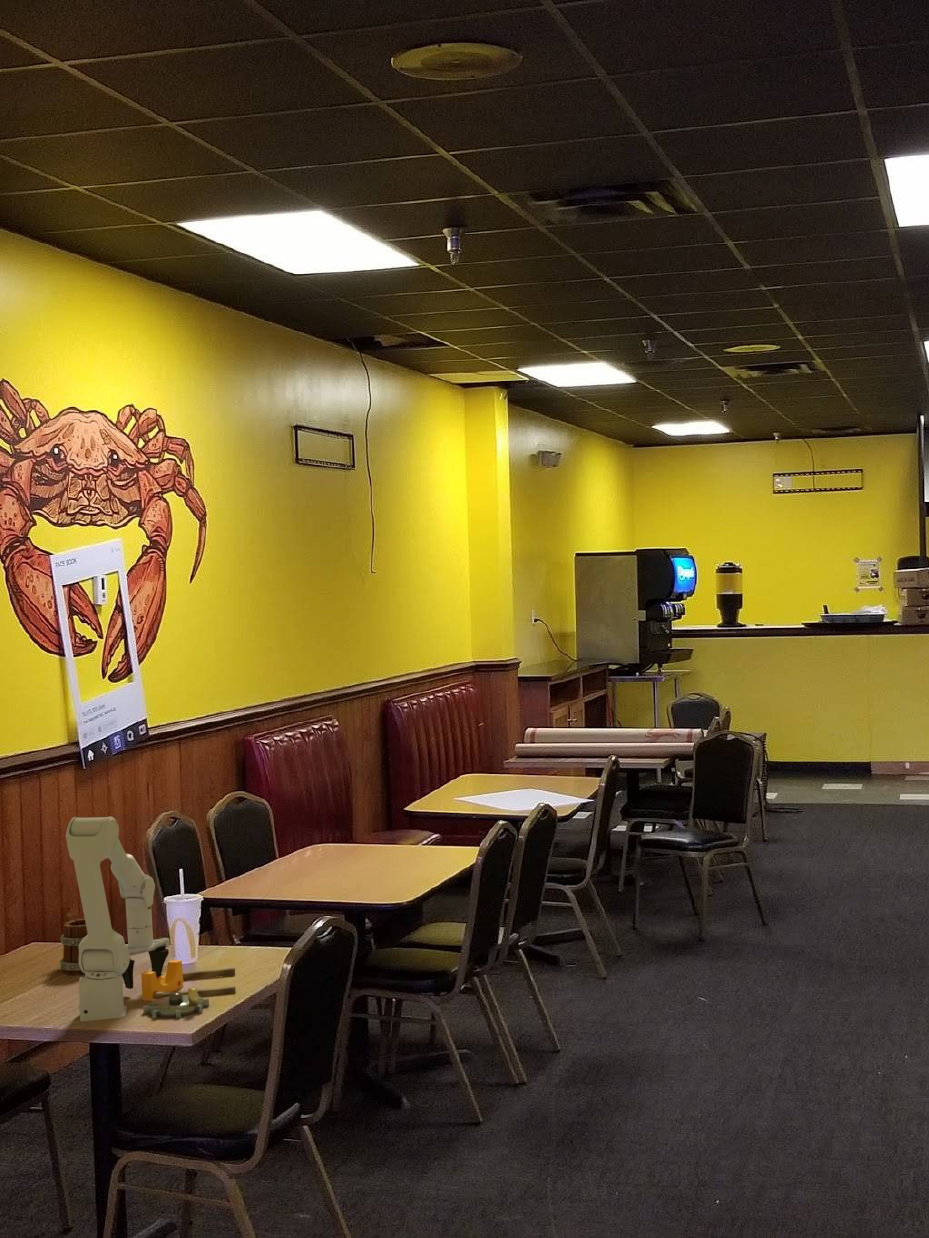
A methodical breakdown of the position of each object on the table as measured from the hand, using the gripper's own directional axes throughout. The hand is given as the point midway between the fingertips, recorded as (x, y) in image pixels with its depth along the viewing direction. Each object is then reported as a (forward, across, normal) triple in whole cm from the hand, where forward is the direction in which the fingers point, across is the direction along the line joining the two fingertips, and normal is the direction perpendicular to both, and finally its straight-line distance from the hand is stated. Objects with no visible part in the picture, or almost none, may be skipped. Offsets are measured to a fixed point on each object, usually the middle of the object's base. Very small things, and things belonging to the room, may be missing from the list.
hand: (143, 984), depth 334 cm
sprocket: (+2, -4, -19) cm, 20 cm away
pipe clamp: (+2, +1, -5) cm, 5 cm away
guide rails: (+2, +10, -7) cm, 12 cm away
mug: (+2, +4, +33) cm, 34 cm away
